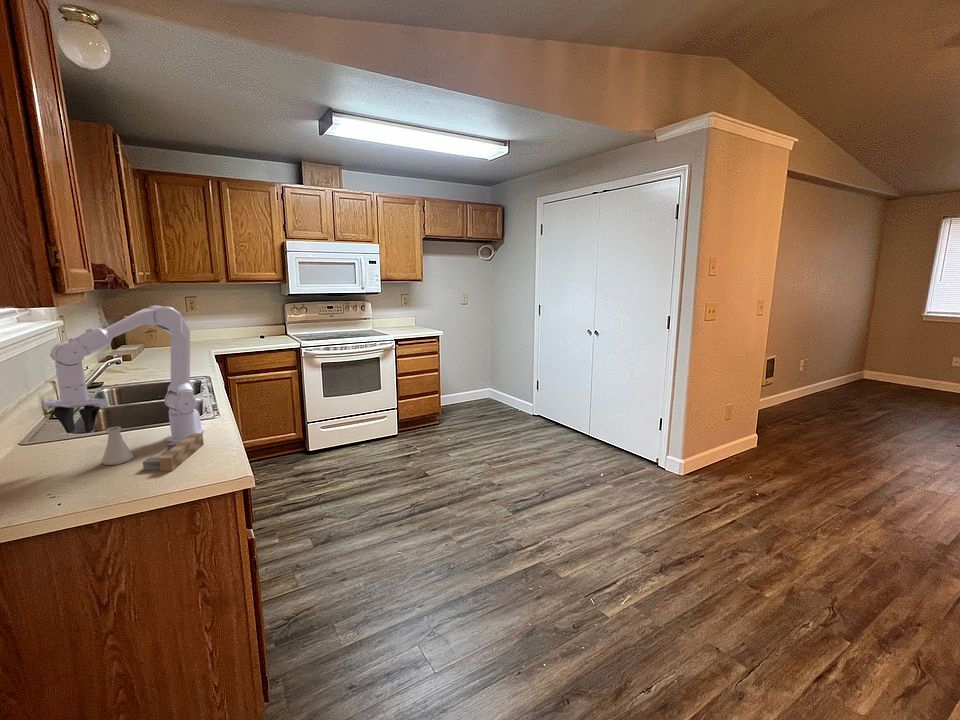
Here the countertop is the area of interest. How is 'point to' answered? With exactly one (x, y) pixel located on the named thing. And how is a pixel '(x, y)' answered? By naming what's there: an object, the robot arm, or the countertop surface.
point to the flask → (116, 448)
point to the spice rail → (175, 453)
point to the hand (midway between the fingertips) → (80, 431)
